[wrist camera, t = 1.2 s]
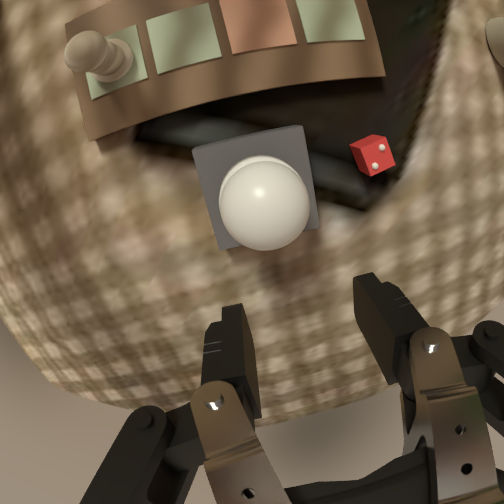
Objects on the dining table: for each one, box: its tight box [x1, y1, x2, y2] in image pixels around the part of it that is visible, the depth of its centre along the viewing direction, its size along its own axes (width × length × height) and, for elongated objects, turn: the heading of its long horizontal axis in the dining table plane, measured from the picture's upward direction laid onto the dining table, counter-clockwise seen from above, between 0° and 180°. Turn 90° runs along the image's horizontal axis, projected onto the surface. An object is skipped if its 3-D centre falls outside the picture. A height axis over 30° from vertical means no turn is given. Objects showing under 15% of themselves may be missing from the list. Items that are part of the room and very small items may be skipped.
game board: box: [65, 0, 385, 142], centre depth 23 cm, size 30×14×2 cm, turn 103°
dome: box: [219, 155, 310, 251], centre depth 23 cm, size 7×7×7 cm
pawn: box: [64, 31, 134, 83], centre depth 19 cm, size 4×4×8 cm
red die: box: [349, 134, 395, 176], centre depth 28 cm, size 3×3×3 cm
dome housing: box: [192, 125, 320, 250], centre depth 29 cm, size 10×10×3 cm
